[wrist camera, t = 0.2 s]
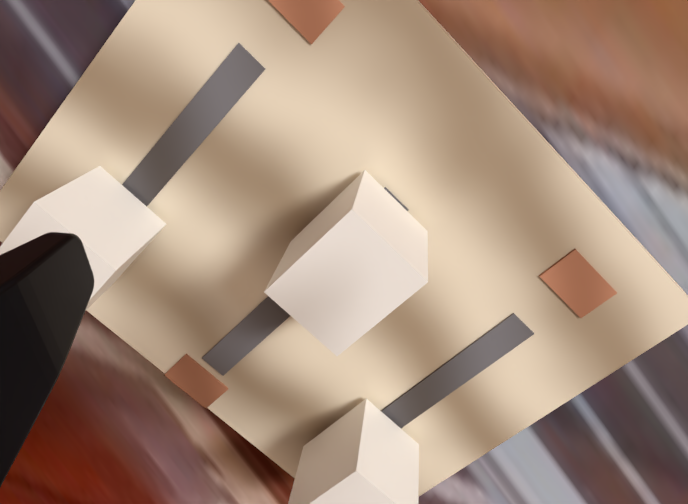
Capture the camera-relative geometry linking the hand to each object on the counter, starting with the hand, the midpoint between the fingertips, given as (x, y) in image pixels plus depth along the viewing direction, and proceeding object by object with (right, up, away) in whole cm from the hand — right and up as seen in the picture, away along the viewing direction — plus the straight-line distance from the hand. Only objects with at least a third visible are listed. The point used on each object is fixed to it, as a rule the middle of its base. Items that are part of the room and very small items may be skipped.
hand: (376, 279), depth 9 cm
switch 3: (0, -8, +17) cm, 19 cm away
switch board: (-1, +1, +17) cm, 17 cm away
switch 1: (-10, +1, +14) cm, 18 cm away
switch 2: (0, +1, +13) cm, 13 cm away
